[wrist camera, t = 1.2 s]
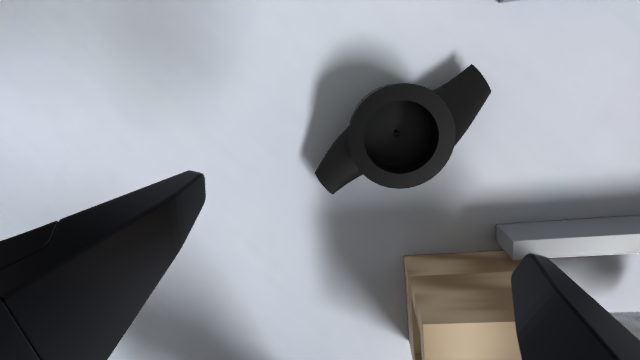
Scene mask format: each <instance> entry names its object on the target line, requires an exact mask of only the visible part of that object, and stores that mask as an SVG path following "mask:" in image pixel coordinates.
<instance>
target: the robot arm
mask: <svg viewBox="0 0 640 360" xmlns="http://www.w3.org/2000/svg"><path fill="white" fill-rule="evenodd" d="M205 198H206V193H205V177H204V175H203V174H202V173H199V172H195V171H186V172H183V173H181V174H178V175H175V176H173V177H170V178H167V179H165V180H162V181H160V182H157V183H154V184H152V185H149V186H147V187H144V188H141V189H139V190H136V191H133V192H131V193H128V194H126V195H123V196H120V197H118V198H115V199H112V200H110V201H107V202H105V203H102V204H99V205H97V206H94V207H91V208H89V209H86V210H84V211H81V212H78V213H76V214H73V215H70V216H68V217H65V218H63V219H60V220H59V222H58V221H55V222H52V223H49V224H47V225H44V226H42V227H39V228H36V229H33V230H31V231H28V232H25V233H22V234H20V235H17V236H14V237H11V238H8V239H5V240H2V241H0V360H107V359H108V358H109V356H110V355H111V353H112V352H113V350H114V349H115V347H116V346H117V344H118V343H119V341H120V340H121V338H122V337H123V335H124V334H125V332H126V331H127V329H128V328H129V326H130V325H131V323H132V322H133V320H134V319H135V317H136V316H137V314H138V313H139V311H140V310H141V308H142V307H143V305H144V304H145V302H146V301H147V299H148V298H149V296H150V295H151V293H152V292H153V290H154V289H155V287H156V286H157V284H158V283H159V281H160V280H161V278H162V277H163V275H164V274H165V272H166V271H167V269H168V268H169V266H170V265H171V263H172V262H173V260H174V259H175V257H176V256H177V254H178V253H179V251H180V249H181V248H182V246H183V244H184V242H185V240H186V238H187V236H188V234H189V233H190V231H191V229H192V227H193V225H194V223H195V221H196V219H197V217H198V215H199V213H200V211H201V209H202V207H203V205H204V202H205ZM511 289H512V298H513V308H514V318H515V327H516V334H517V339H518V345H519V349H520V354H521V358H522V360H640V340H639V339H638V338H637V337H636V336H635V335H633V334H632V333H631V332H630V331H629V330H628V329H627V328H626V327H624V326H623V325H622V324H621V323H620V322H619V321H618V320H617V319H615V318H614V317H613V316H612V315H611V314H610V313H609V312H608V311H606V310H605V309H604V308H603V307H602V306H601V305H600V304H599V303H597V302H596V301H595V300H594V299H593V298H592V297H591V296H590V295H588V294H587V293H586V292H585V291H584V290H583V289H582V288H581V287H579V286H578V285H577V284H576V283H575V282H574V281H573V280H572V279H571V278H569V277H568V276H567V275H566V274H565V273H564V272H563V271H562V270H560V269H559V268H558V267H557V266H556V265H555V264H554V263H553V262H551V261H550V260H549V259H548V258H547V257H545V256H542V255H538V254H534V253H528V254H526V255H525V256H524V258H523V259H522V260H521V262H520V263H519V264H518V266H517V267H516V268H515V270H514V271H513V273H512V275H511Z"/></svg>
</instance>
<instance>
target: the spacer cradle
mask: <svg viewBox="0 0 640 360" xmlns="http://www.w3.org/2000/svg"><path fill="white" fill-rule="evenodd" d="M509 1H516V0H499V3H502V2H509ZM496 242H497V243H498V244H499V245H500V246H501V247H502V248H503V249H504V251H505V252H506V253H507V254H508V255H509V256H510V257H511V258H512V259H513V260H520V259H523V258H524V256H525V255H526V254H528V253H534V254H538V255H542V256H545V257H547V258H559V257H578V256H598V255H617V254H636V253H640V215H634V216H619V217H603V218H588V219H573V220H557V221H542V222H526V223H511V224H496Z"/></svg>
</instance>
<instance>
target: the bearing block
mask: <svg viewBox="0 0 640 360" xmlns="http://www.w3.org/2000/svg"><path fill="white" fill-rule="evenodd" d="M521 260H522V259H520V260H513V259H512V258H511V257H510V256H509V255H508V254H507V253H506V252H505V251H487V252H469V253H451V254H432V255H414V256H404V265H405V281H406V298H407V314H408V330H409V343H410V348H411V353H412V358H413V360H522V358H521V354H520V349H519V345H518V339H517V334H516V327H515V318H514V308H513V298H512V289H511V275H512V273H513V271H514V270H515V268H516V267H517V266H518V264H519V263H520V262H521Z"/></svg>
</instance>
